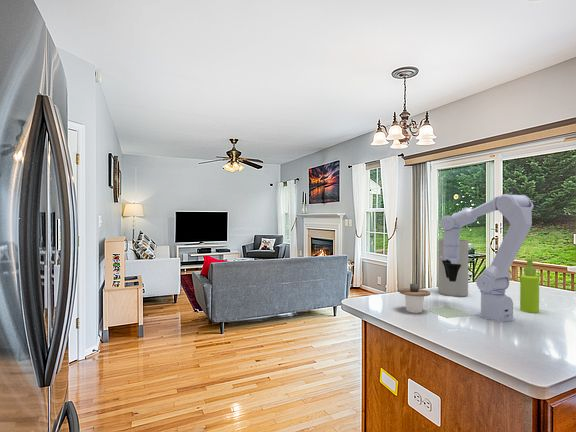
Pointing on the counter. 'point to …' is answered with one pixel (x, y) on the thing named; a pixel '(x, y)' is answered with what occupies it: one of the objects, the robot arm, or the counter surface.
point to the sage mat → (448, 312)
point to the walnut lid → (414, 291)
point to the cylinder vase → (461, 282)
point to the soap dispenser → (529, 288)
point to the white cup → (414, 303)
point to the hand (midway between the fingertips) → (450, 279)
